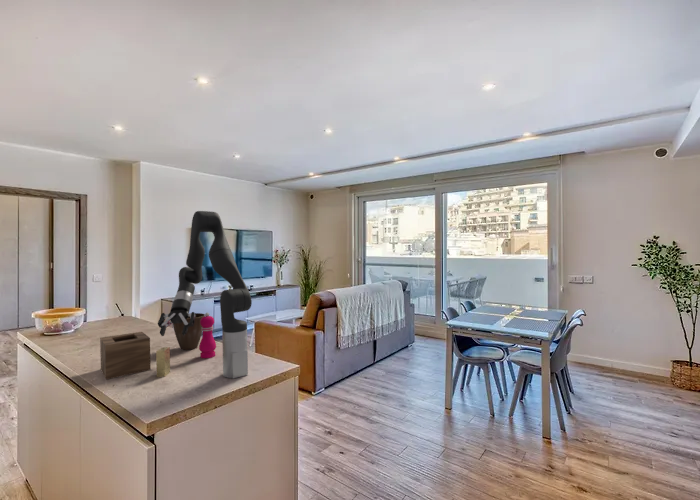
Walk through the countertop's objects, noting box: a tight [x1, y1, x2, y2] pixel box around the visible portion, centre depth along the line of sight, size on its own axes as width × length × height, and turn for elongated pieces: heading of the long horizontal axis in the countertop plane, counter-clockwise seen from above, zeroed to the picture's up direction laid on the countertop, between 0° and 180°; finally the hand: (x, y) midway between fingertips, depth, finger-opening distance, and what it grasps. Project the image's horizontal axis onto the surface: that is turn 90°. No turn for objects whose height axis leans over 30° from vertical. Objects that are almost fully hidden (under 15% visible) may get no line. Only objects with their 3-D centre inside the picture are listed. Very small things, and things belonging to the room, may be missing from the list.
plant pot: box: [172, 312, 206, 351], centre depth 172 cm, size 15×15×16 cm
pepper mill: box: [198, 312, 217, 359], centre depth 158 cm, size 7×7×20 cm
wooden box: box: [99, 331, 152, 380], centre depth 142 cm, size 15×15×13 cm
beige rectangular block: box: [155, 346, 171, 378], centre depth 136 cm, size 5×3×10 cm, turn 7°
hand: (172, 334), depth 146 cm, fingers open, 8 cm apart
